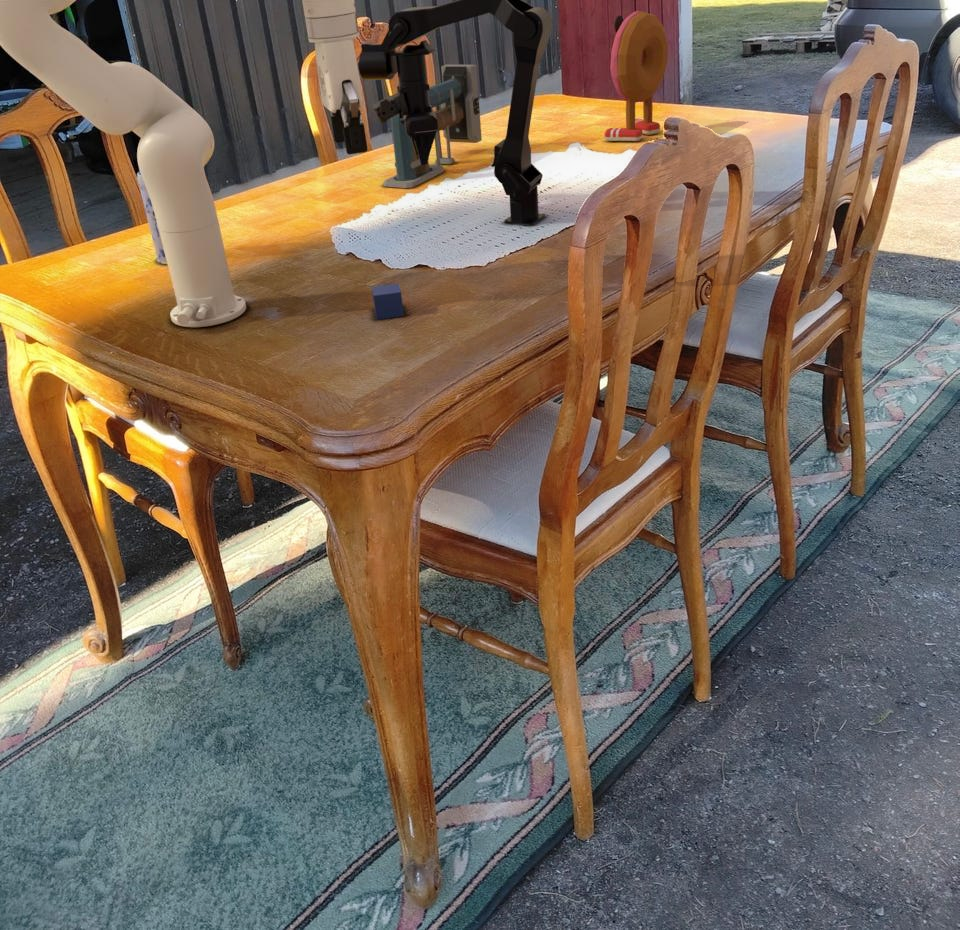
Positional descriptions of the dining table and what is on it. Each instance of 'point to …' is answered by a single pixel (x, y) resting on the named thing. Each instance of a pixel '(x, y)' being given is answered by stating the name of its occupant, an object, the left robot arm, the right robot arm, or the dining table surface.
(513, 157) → the right robot arm
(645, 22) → the toy
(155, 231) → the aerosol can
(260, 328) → the dining table surface
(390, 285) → the block
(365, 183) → the dining table surface
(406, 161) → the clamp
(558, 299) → the dining table surface
